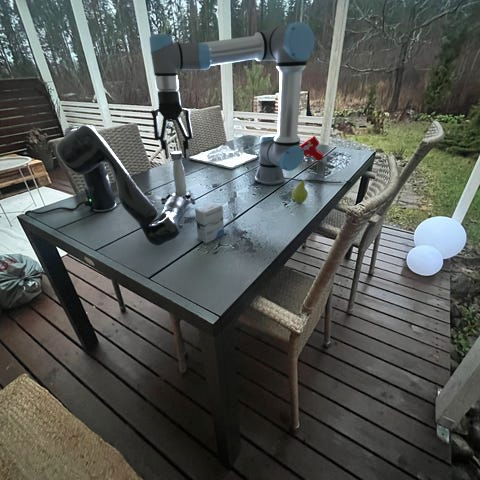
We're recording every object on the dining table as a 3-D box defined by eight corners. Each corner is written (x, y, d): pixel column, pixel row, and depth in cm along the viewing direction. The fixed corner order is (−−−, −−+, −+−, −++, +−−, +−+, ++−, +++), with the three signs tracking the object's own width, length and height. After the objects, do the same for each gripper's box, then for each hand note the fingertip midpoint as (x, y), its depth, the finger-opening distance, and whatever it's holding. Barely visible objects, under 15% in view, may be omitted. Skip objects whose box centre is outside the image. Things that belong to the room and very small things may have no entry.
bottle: (183, 205, 120) (176, 152, 108) (190, 207, 118) (184, 154, 106) (176, 208, 117) (168, 155, 104) (183, 211, 115) (176, 156, 102)
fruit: (288, 200, 123) (290, 174, 116) (302, 197, 125) (305, 172, 119) (296, 206, 118) (299, 179, 111) (310, 203, 120) (314, 177, 114)
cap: (169, 158, 106) (168, 152, 105) (179, 156, 108) (179, 150, 107) (174, 160, 103) (173, 154, 102) (184, 158, 105) (183, 152, 104)
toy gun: (327, 155, 171) (314, 135, 167) (326, 157, 167) (314, 136, 164) (302, 170, 181) (290, 151, 177) (301, 172, 177) (288, 153, 174)
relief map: (231, 168, 161) (231, 160, 158) (189, 159, 179) (189, 151, 176) (257, 158, 179) (257, 150, 176) (217, 150, 197) (216, 142, 194)
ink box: (215, 229, 101) (213, 200, 95) (224, 234, 98) (223, 205, 92) (197, 238, 96) (194, 208, 90) (206, 243, 93) (203, 213, 87)
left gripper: (192, 200, 100) (198, 183, 114) (153, 200, 100) (164, 183, 114) (194, 218, 104) (200, 199, 118) (156, 218, 104) (167, 199, 118)
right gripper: (197, 89, 97) (202, 154, 109) (142, 90, 96) (153, 155, 108) (195, 91, 90) (201, 160, 103) (136, 91, 90) (149, 161, 102)
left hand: (182, 191), depth 116 cm, fingers closed on bottle, 4 cm apart
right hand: (176, 157), depth 106 cm, fingers open, 6 cm apart
